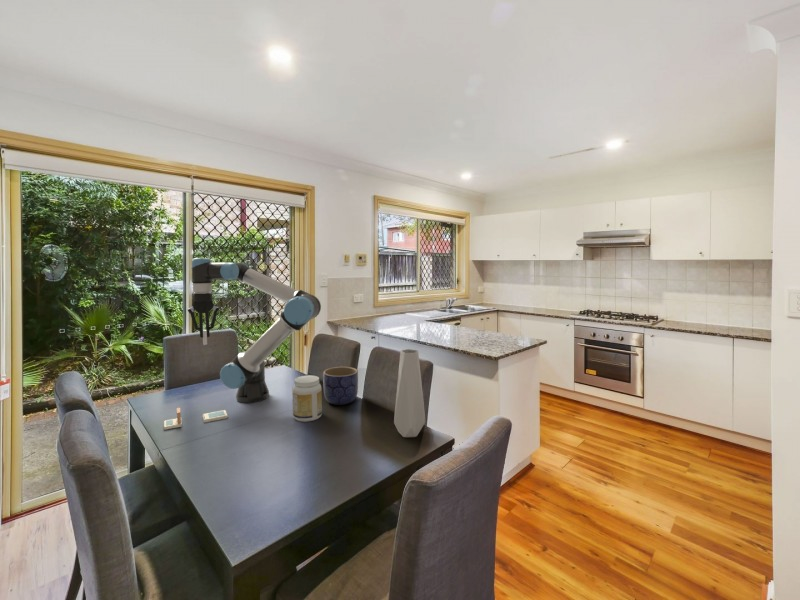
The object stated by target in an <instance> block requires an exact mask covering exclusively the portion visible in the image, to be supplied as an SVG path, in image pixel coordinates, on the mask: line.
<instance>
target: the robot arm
mask: <svg viewBox="0 0 800 600" xmlns="http://www.w3.org/2000/svg"><path fill="white" fill-rule="evenodd" d="M191 272H192V292H193V295H192V297H193V303H192V306H191V307H189V308H187V312H188V314H190V317H191V320H192V323H193V326H194V329H195V330H197V331H199V337H200V338H201V339H202V344H203V346H206V345H208V338H209V337H210V330H211V329H214V327H215V323H216V318H217V314H218V312H219V311H220V307H218V306H216V305H215V304H214V303H213V293H212V292H213V285H212V283H213V282H212V280H218V281H219V280H224V281H225V280H226V281H231V280H238V281H240V282H242V283H244V284H246V285H248V286H250V287H252V288H255V289H257V290H259V291H260V292H263V293H265V294H268V295H270V296H271V297H273V298H276V299H278V300H279V301H282V302H283V303H286V304H285V305H284V307H283V309H281V311H279V317H278V319H276V321H275V322H274V323H273V324H272V325H271V326H269V328H267V330H266V331H265V332H263V333H262V335H260V337H259V338H258V339H257V340H256V341H255V342H254V343H253V344H252V345H251V346H249V348H247V350H246V351H240V352H239V353H238V354H237V355H236V356H235V357H234V358H233V359H231V361H230V362H229V363H226V364H224V365H223V366H222V367H221V369H220V371H219V377H220V378H219V379H220V381H221V383H222V384H223V385H224V386H225V387H226V388H228V389H233V390H236V389H237V392H236V394H235V399H236V402H239V403H245V404H248V403H250V404H251V403H258V402H262V401H265V400H266V399H268V398H269V397H270V392H269V391H270V390H269V388H268V385H267V383H266V375H265V374H266V372H265V370H266V369H265V360H267V358H268V357H270V355H271V354H272V353H273V352H274V351H275V350H276V349H278V348H279V346H281V344H282V343H284V341H286V340H287V338H289V337H290V335H291V334H293V332H295V331H296V332H298V331H299V332H300V330H302V329H303V328H304V327H305V325H306V324H308V323H309V322H310V321H311V320H312V319H315V318H317V317H318V315H319V314H320V313H321V309H322V305H321V301H320V300H319V298H318V297H317V296H315V295H313V294H311V293H309V292H307V291H304V290H302V289H295V288H293V287H291V286H289V285H287V284H284V283H283V282H280V281H279V280H276V279H275V278H272V277H270V276H268V275H265V274H264V273H262V272H260V271H257V270H256V269H253V268H251V267H250V266H249V265H248V264H246V263H245V262H239V261H238V262H231V261H230V262H212V260H211V259H210V258H208V257H207V258H206V257H205V258H202V257H196V258H195V257H194V258H193V259H192V260H191ZM211 310H212V311H213V314H212V317H211V322H210V317H209V316H210V315H209V314H210V312H211ZM194 312H197V313H198V323H197V320H196V316H195V314H194ZM203 314H204V316H205V329H204V326H203V325H204V324H203V323H204V322H203ZM198 324H199V326H198Z"/></svg>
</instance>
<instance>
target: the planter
mask: <svg viewBox="0 0 800 600" xmlns="http://www.w3.org/2000/svg"><path fill="white" fill-rule="evenodd" d="M322 381H323V382H322V383H323V384H322V385H323V394H324V398H325V400H326V401H327V402H328V403H330V404H331V405H335V406H344V405H348V404H350V403H353V402H354V401H355V399H356V398H357V396H358V392H359V371H358V369H357V368H355V367H351V366H350V367H349V366H336V367H335V366H334V367H329V368H327V369H325V370H324V371H323V373H322Z"/></svg>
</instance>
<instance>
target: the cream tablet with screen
mask: <svg viewBox="0 0 800 600" xmlns="http://www.w3.org/2000/svg"><path fill="white" fill-rule="evenodd" d="M202 418H203V419H202V420H203V421H202V422H203V423H209V422H214V421H219V420H224V419H225V420H226V419H228V413H227V411H226V409H224V410H223V409H222V410H217V411H212V412H207V413H203V414H202Z"/></svg>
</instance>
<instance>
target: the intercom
mask: <svg viewBox="0 0 800 600" xmlns="http://www.w3.org/2000/svg"><path fill="white" fill-rule="evenodd" d="M181 414H182V413H181V407H176V418H170V419H166V420H164V421H163V430H164V431H165V430H171V429H176V428H180V427H181V428H182V426H183V425H182V424H183V423H182V416H181Z"/></svg>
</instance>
